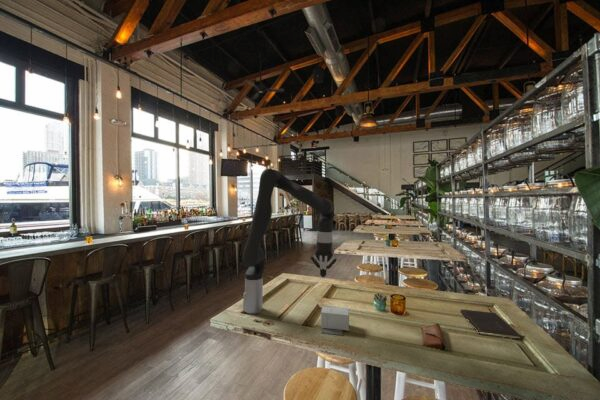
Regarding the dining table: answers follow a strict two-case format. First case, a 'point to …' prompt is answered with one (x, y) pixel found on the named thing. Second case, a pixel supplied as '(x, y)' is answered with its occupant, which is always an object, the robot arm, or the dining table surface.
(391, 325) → the dining table surface
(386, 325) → the dining table surface
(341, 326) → the supplement box
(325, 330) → the dark grey rectangular panel
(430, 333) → the sunglasses case
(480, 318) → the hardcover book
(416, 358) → the dining table surface
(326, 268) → the robot arm
